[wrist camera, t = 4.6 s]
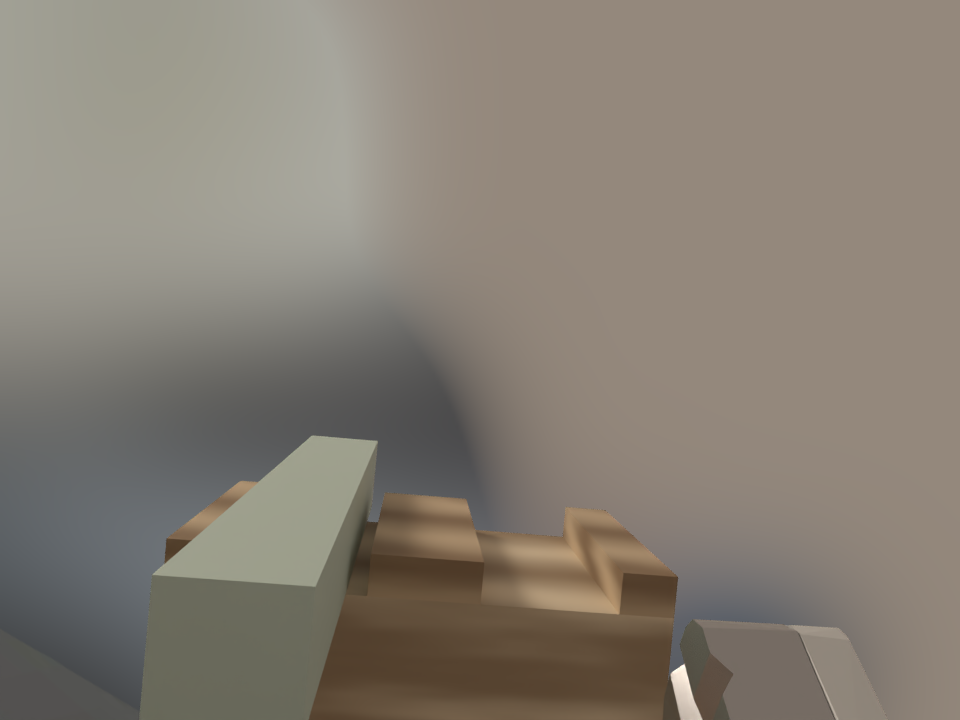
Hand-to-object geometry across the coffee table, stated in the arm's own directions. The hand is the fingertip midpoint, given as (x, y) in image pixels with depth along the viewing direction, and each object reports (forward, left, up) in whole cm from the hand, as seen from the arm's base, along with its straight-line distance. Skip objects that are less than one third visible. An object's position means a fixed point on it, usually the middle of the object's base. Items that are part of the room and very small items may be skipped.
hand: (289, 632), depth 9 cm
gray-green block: (+20, +12, -6) cm, 24 cm away
